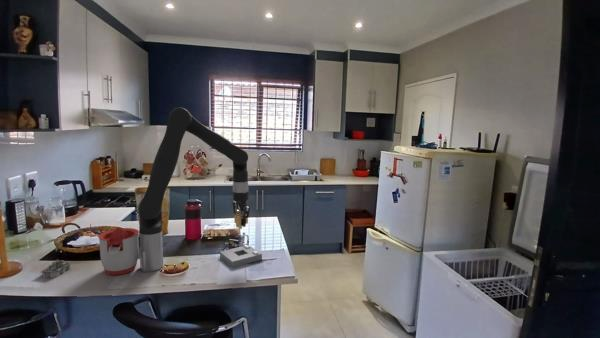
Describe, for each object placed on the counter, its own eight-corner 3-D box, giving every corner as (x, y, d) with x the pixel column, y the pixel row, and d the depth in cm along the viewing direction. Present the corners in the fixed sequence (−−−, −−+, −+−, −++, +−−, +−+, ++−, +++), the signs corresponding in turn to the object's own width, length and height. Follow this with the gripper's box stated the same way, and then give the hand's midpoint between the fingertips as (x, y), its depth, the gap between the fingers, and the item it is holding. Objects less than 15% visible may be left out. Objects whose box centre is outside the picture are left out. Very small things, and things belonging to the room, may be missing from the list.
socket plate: (232, 267, 149) (232, 260, 149) (219, 257, 160) (219, 250, 160) (261, 259, 159) (261, 252, 159) (248, 250, 170) (248, 243, 169)
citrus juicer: (94, 281, 133) (91, 235, 130) (106, 263, 149) (104, 222, 146) (135, 277, 137) (133, 233, 134) (143, 260, 154) (141, 220, 151)
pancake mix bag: (138, 232, 192) (135, 186, 188) (171, 230, 197) (170, 186, 193) (135, 236, 186) (132, 188, 182) (169, 234, 190) (168, 188, 186)
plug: (238, 229, 154) (238, 215, 153) (234, 226, 157) (234, 213, 156) (247, 227, 157) (247, 213, 156) (243, 225, 161) (243, 211, 160)
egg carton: (58, 267, 145) (58, 258, 145) (74, 268, 145) (73, 259, 144) (38, 278, 135) (37, 268, 134) (54, 279, 134) (54, 270, 134)
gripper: (227, 188, 158) (227, 221, 160) (240, 194, 147) (241, 229, 149) (240, 186, 162) (241, 219, 165) (254, 192, 151) (255, 226, 154)
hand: (241, 224), depth 157 cm, fingers closed on plug, 4 cm apart
